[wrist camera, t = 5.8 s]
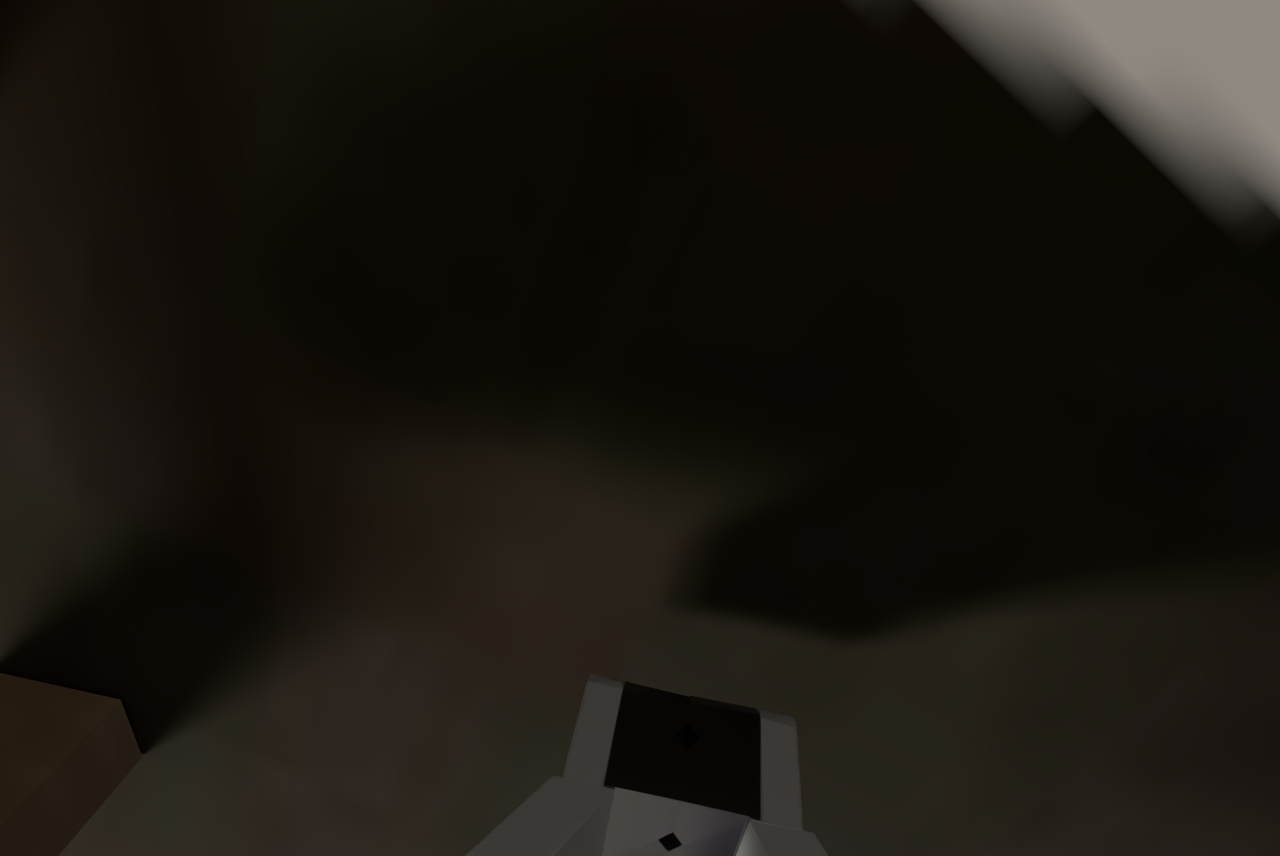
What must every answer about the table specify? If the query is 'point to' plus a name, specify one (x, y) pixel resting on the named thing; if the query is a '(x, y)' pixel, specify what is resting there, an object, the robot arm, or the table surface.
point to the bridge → (56, 762)
